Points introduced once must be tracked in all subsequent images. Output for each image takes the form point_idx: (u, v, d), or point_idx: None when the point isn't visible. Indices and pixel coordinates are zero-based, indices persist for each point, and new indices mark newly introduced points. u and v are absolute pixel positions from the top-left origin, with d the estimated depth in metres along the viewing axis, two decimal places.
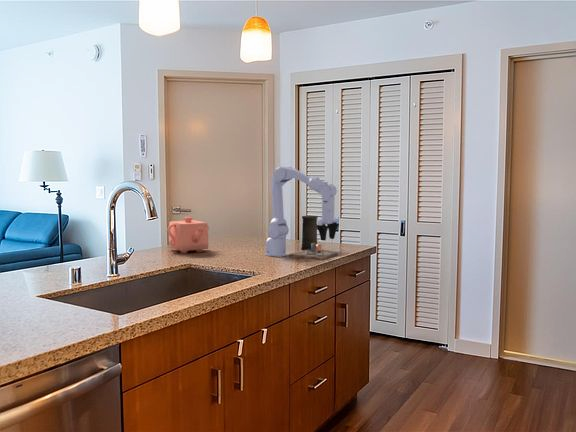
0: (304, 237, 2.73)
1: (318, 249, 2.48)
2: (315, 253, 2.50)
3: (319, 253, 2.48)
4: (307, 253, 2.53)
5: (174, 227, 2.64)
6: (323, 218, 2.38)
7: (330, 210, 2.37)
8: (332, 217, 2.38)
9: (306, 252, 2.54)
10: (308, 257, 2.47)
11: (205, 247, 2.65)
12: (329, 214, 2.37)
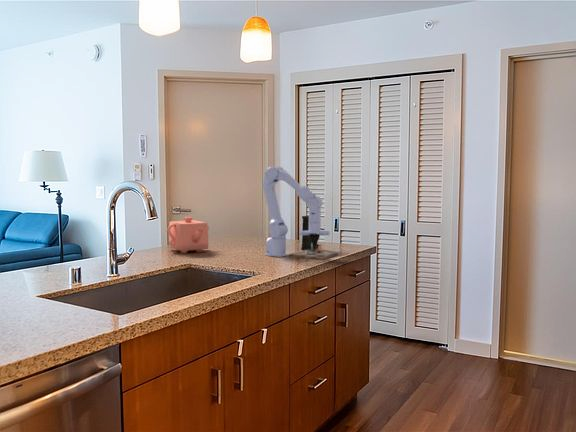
0: (304, 237, 2.73)
1: (318, 249, 2.48)
2: (315, 253, 2.50)
3: (319, 253, 2.48)
4: (307, 253, 2.53)
5: (174, 227, 2.64)
6: None
7: (317, 222, 2.45)
8: (313, 228, 2.45)
9: (306, 252, 2.54)
10: (308, 257, 2.47)
11: (205, 247, 2.65)
12: (311, 225, 2.46)
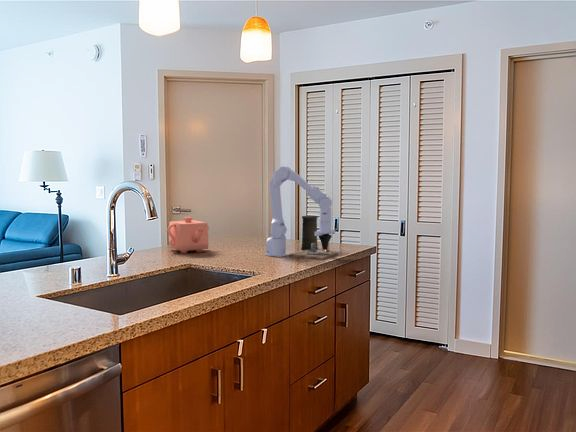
0: (304, 237, 2.73)
1: (328, 248, 2.52)
2: (323, 252, 2.52)
3: (329, 252, 2.52)
4: None
5: (174, 227, 2.64)
6: (320, 229, 2.49)
7: (329, 221, 2.48)
8: (329, 228, 2.48)
9: (311, 253, 2.52)
10: (308, 257, 2.47)
11: (205, 247, 2.65)
12: (326, 225, 2.47)
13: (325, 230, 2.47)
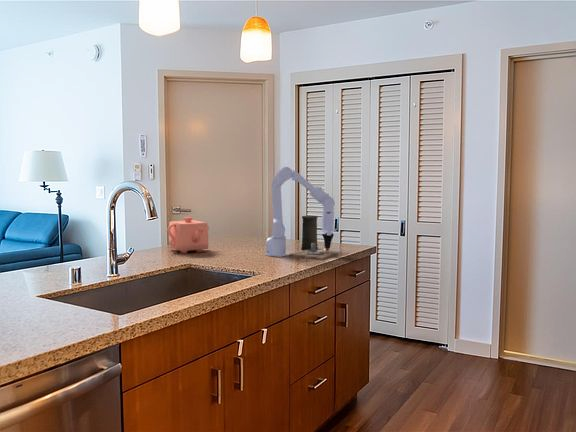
0: (304, 237, 2.73)
1: None
2: (324, 251, 2.56)
3: None
4: (318, 253, 2.53)
5: (174, 227, 2.64)
6: (326, 228, 2.52)
7: (332, 220, 2.53)
8: (333, 227, 2.54)
9: (317, 253, 2.52)
10: (308, 257, 2.47)
11: (205, 247, 2.65)
12: (332, 224, 2.53)
13: (331, 229, 2.52)
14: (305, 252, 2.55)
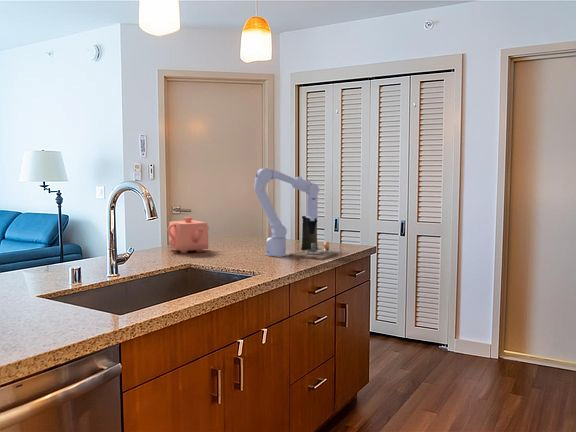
0: (304, 237, 2.73)
1: (328, 246, 2.58)
2: (324, 251, 2.56)
3: None
4: (318, 253, 2.53)
5: (174, 227, 2.64)
6: (310, 214, 2.56)
7: (317, 206, 2.57)
8: None
9: (317, 253, 2.52)
10: (308, 257, 2.47)
11: (205, 247, 2.65)
12: (316, 210, 2.56)
13: (315, 215, 2.56)
14: (305, 252, 2.55)
